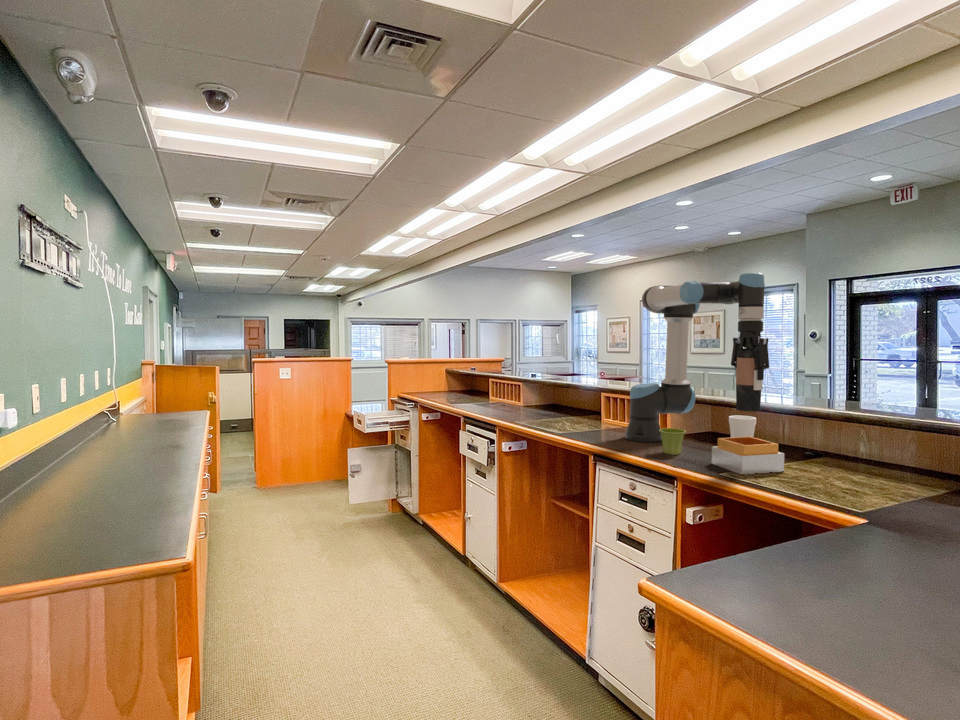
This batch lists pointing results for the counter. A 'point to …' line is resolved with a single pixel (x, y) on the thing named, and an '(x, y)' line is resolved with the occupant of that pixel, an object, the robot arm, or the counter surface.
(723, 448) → the grey and brown box
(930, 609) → the counter surface
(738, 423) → the foam cup
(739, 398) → the travel mug
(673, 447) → the plant pot
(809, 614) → the counter surface
